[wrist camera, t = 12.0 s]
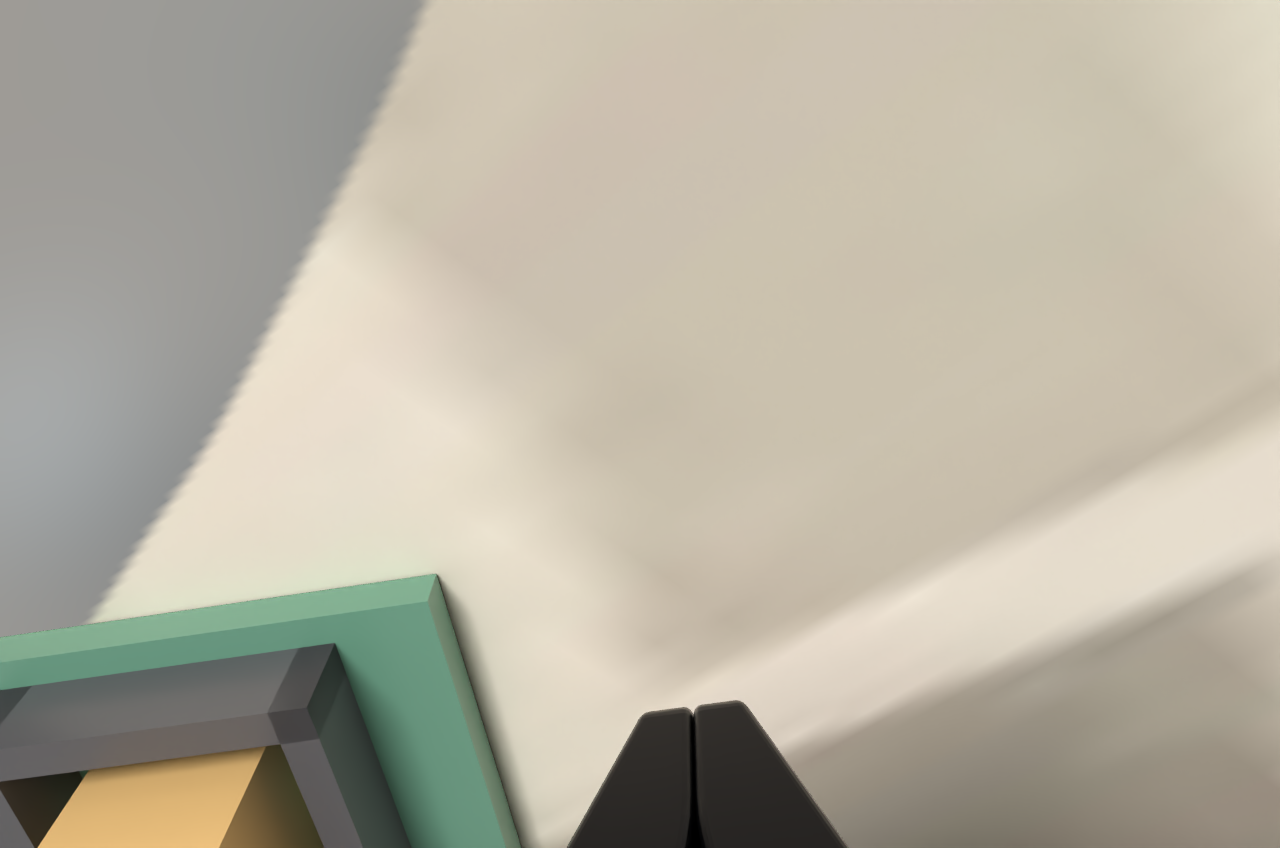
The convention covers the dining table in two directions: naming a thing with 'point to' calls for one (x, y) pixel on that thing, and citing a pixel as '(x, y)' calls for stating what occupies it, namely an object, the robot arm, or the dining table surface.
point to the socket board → (265, 711)
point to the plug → (189, 805)
